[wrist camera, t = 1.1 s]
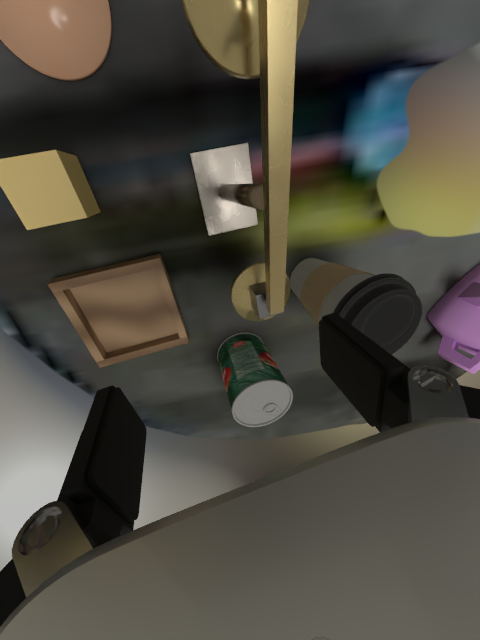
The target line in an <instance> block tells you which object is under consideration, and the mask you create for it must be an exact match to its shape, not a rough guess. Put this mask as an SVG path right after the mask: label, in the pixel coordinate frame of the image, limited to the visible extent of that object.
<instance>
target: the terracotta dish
mask: <svg viewBox="0 0 480 640" xmlns="http://www.w3.org/2000/svg"><path fill="white" fill-rule="evenodd" d="M0 39H1V41H2V42H3V43H4V44H5V45H6V46H7V47H8V48H9V49H10V50H11V51H12V52H13V53H14V54H15V55H16V56H17V57H19V58H20V59H21V60H22V61H24V62H25V63H26V64H27V65H29V66H30V67H32V68H33V69H35V70H36V71H38V72H40V73H42V74H44V75H46V76H48V77H51V78H54V79H57V80H61V81H79V80H83V79H86V78H88V77H90V76H91V75H93V74H94V73H96V72H97V71H98V70H99V69H100V68H101V66H102V65H103V63H104V62H105V60H106V57H107V55H108V52H109V49H110V45H111V39H112V18H111V11H110V5H109V1H108V0H0Z"/></svg>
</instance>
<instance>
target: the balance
mask: <svg viewBox="0 0 480 640" xmlns="http://www.w3.org/2000/svg"><path fill="white" fill-rule="evenodd" d="M182 4H183V8H184V12H185V15H186V18H187V21H188V24H189V26H190V29H191V31H192V33H193V35H194V37H195V39H196V41H197V43H198V45H199V46H200V48H201V49H202V51H203V52H204V53H205V55H206V56H207V57H208V58H209V59H210V61H211V62H212V63H214V64H215V65H216V66H217V67H218V68H219V69H221V70H222V71H224V72H225V73H227V74H229V75H231V76H234V77H237V78H241V79H255V78H259V77H260V97H261V133H262V169H263V184H253V181H252V173H251V165H250V157H249V149H248V143H245V144H239V145H234V146H228V147H223V148H217V149H212V150H206V151H201V152H195V153H190V159H191V164H192V168H193V173H194V177H195V181H196V186H197V190H198V194H199V199H200V203H201V207H202V212H203V216H204V220H205V225H206V229H207V234H208V235H209V236H210V235H214V234H218V233H223V232H227V231H232V230H236V229H240V228H245V227H249V226H253V225H258V222H257V214H256V209H258V210H262V211H264V242H265V262H257V263H254V264H251V265H249V266H247V267H245V268H244V269H243V270H242V271H241V272H240V273H239V274H238V275H237V276H236V278H235V280H234V281H233V284H232V287H231V301H232V304H233V306H234V308H235V310H236V311H237V312H238V313H239V314H240V315H241V316H242V317H244V318H245V319H248V320H251V321H263V320H267V319H269V318H271V317H273V316H275V315H276V314H280V313H284V306H285V305H286V303H287V301H288V299H289V296H290V291H291V285H290V280H289V278H288V276H287V274H286V254H287V231H288V209H289V187H290V165H291V143H292V120H293V98H294V76H295V54H296V42H297V40H298V38H299V36H300V33H301V30H302V28H303V25H304V22H305V18H306V14H307V9H308V4H309V0H182Z"/></svg>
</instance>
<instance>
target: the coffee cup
mask: <svg viewBox="0 0 480 640" xmlns="http://www.w3.org/2000/svg"><path fill="white" fill-rule="evenodd" d="M290 285H291V289H292V291H293V292H294V293H295V295H296V296H297V297H298V299H299V300H300V301H301V303H302V305H303V307H304V308H305V309H306V311H307V312H308V313H309V314H310V316H311V317H312V318H313V319H314V321H315V322H316V323H317V325H318V326H319V321H320V320H321V319H322V317H323V316H325V315H328V314H331V313H336V314H338V315H339V316H340V317H342V318H343V319H344V320H346V321H347V322H348V323H350V324H351V325H352V326H354V327H355V328H356V329H357V330H359V331H360V332H361V333H363V334H364V335H366V336H367V337H369V338H370V339H371V340H372V341H374V342H375V343H376V344H378V345H379V346H380V347H382V348H383V349H384V350H386V351H387V352H388V353H390V354H393V353H395V352H396V351H397V350H399V349H400V348H401V347H402V346H403V345H404V344H405V343H406V342H407V341H408V340H409V339H410V338H411V336H412V335H413V334H414V332H415V330H416V329H417V327H418V324H419V322H420V319H421V315H422V304H421V301H420V299H419V297H418V296H417V295H416V292H415V289H414V288H413V286H412V285H411V284H410V283H409V282H407V281H406V280H405V279H403V278H402V277H400V276H398V275H395V274H379V275H373V274H371V273H368V272H364V271H361V270H358V269H354V268H351V267H347V266H344V265H341V264H337V263H329V262H326V261H323V260H319V259H315V258H308V259H305V260H303V261H301V262H300V263H299V264H298V265H297V266H296V267H295V268H294V270H293V272H292V274H291V277H290Z"/></svg>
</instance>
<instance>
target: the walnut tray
mask: <svg viewBox="0 0 480 640" xmlns="http://www.w3.org/2000/svg"><path fill="white" fill-rule="evenodd" d="M48 286H49V287H50V289H51V291H52V292H53V294H54V295H55V297H56V299H57V300H58V302H59V303H60V305H61V307H62V308H63V310H64V311H65V313H66V314H67V316H68V318H69V319H70V321H71V322H72V324H73V326H74V327H75V329H76V330H77V332H78V334H79V335H80V337H81V338H82V340H83V342H84V343H85V345H86V346H87V348H88V349H89V351H90V353H91V354H92V356H93V357H94V359H95V361H96V362H97V364H98V365H99V367H104V366H108V365H111V364H115V363H118V362H122V361H125V360H129V359H132V358H136V357H139V356H143V355H147V354H150V353H154V352H157V351H161V350H164V349H168V348H171V347H175V346H178V345H182V344H185V343H189V336H188V332H187V329H186V326H185V323H184V320H183V317H182V315H181V312H180V309H179V306H178V303H177V300H176V297H175V294H174V291H173V288H172V285H171V282H170V279H169V276H168V274H167V271H166V268H165V265H164V262H163V259H162V256H161V254H157V255H152V256H148V257H144V258H140V259H135V260H131V261H127V262H122V263H118V264H114V265H109V266H105V267H101V268H97V269H92V270H88V271H84V272H79V273H75V274H71V275H66V276H62V277H58V278H55V279H53V280H52V281H51V282H50V283H48Z"/></svg>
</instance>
